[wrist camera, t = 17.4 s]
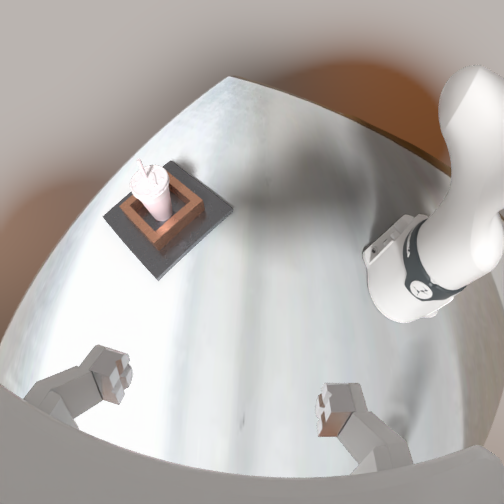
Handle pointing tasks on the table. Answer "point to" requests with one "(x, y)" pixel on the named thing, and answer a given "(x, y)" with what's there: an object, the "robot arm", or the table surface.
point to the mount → (168, 222)
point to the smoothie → (153, 190)
